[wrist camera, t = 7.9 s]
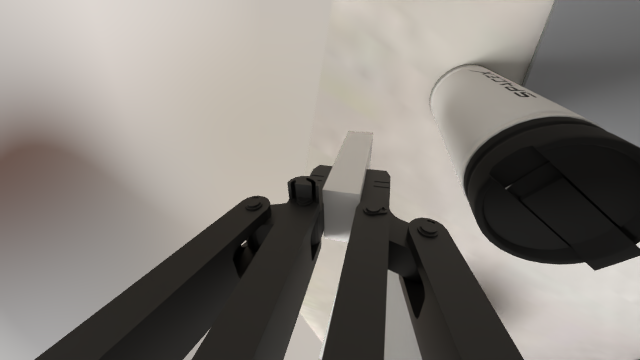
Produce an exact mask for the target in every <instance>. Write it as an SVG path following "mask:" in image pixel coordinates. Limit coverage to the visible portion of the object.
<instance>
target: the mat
mask: <svg viewBox="0 0 640 360" xmlns="http://www.w3.org/2000/svg"><path fill="white" fill-rule="evenodd" d="M522 87H524V88H526V89H528V90H530V91H532V92H534V93H536V94H538V95H540V96H542V97H544V98H546V99H548V100H550V101H552V102H554V103H556V104H558V105H560V106H562V107H564V108H566V109H568V110H570V111H572V112H574V113H576V114H578V115H580V116H582V117H584V118H586V119H588V120H590V121H592V122H594V123H596V124H598V125H599V126H600V127H602V128H603V129H604V130H606V131H607V132H610V133H612V134H614V135H616V136H618V137H620V138H622V139H624V140H626V141H628V142H630V143H632V144H634V145H636V146H638V147H640V0H555V1H554V4H553V7H552V9H551V12H550V14H549V17H548V19H547V22H546V25H545V27H544V30H543V32H542V35H541V38H540V40H539V43H538V45H537V48H536V50H535V53H534V56H533V58H532V61H531V63H530V66H529V69H528V71H527V74H526V76H525V79H524V81H523V84H522Z"/></svg>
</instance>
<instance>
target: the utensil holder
mask: <svg viewBox="0 0 640 360" xmlns="http://www.w3.org/2000/svg"><path fill="white" fill-rule="evenodd" d="M338 286H339V285H338ZM337 290H338V288H337ZM336 294H337V292H336ZM335 299H336V295H335ZM335 299H334V303H335ZM334 303H333V306H332V310H331V314H330V318H329V322H328V326H327V329H326V333H325V337H324V340H323V344H322V349H321V352H320V356H319V360H322V356H323V352H324V347H325V343H326V339H327V334H328V330H329V325H330V321H331V317H332V312H333V308H334ZM384 360H422V357H421V354H420V350H419V347H418V343H417V340H416V336H415V333H414V329H413V326H412V323H411V319H410V316H409V312H408V309H407V305H406V302H405V298H404V295H403V291H402V288H401V284H400V281H399V276H398V274H396V273H394V272H392V271H390V270H388V275H387V300H386V324H385V349H384Z"/></svg>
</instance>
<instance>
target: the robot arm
mask: <svg viewBox="0 0 640 360" xmlns="http://www.w3.org/2000/svg"><path fill="white" fill-rule="evenodd" d="M372 140H373V133H369V132H354V131H348V134H347V136H346V138H345V140H344V143H343V145H342V147H341V149H340V152H339V154H338V156H337V158H336V160H335V163H334V165H333V166H324V165H319V166H318V167H316V168H315V169H313V171H312V173H311V175H310V176H300V177H295V178H293V179H291V180H290V181H289V182H288V191H289V201H288V202H287V203H284V204H275V205H270V202H269V200H268V199H267V198H265V197H262V196H252V197H249V198H247V199H245V200H243V201H242V202H240V203H239V204H238V205H236V206H235V207H234V208H233V209H231V210H230V211H228V212H227V213H226V214H225V215H223V216H222V217H221V218H219V219H218V220H217V221H215V222H214V223H213V224H211V225H210V226H209V227H207V228H206V229H205V230H204V231H202V232H201V233H200V234H198V235H197V236H196V237H194V238H193V239H192V240H191V241H189V242H188V243H187V244H185V245H184V246H183V247H181V248H180V249H179V250H177V251H176V252H175V253H173V254H172V255H171V256H169V257H168V258H167V259H166V260H164V261H163V262H162V263H160V264H159V265H158V266H157V267H155V268H154V269H152V270H151V271H150V272H149V273H148V274H146V275H145V276H143V277H142V278H141V279H140V280H138V281H137V282H135V283H134V284H133V285H132V286H130V287H129V288H128V289H127V290H125V291H124V292H123V293H121V294H120V295H119V296H117V297H116V298H115V299H113V300H112V301H111V302H110V303H108V304H107V305H105V306H104V307H103V308H101V309H100V310H99V311H98V312H96V313H95V314H94V315H92V316H91V317H90V318H89V319H87V320H86V321H84V322H83V323H82V324H80V325H79V326H78V327H77V328H75V329H74V330H73V331H71V332H70V333H69V334H67V335H66V336H65V337H63V338H62V339H61V340H60V341H58V342H57V343H56V344H54V345H53V346H52V347H51V348H49V349H48V350H46V351H45V352H44V353H43V354H41V355H40V356H39V357H37V358H36V359H35V360H183V359H184V358H185V357H186V355H187V354H188V353H189V352H190V351H191V350H192V349H193V347H194V346H195V345H196V344H197V343H198V342H199V341H200V339H201V338H202V337H203V336H204V335H205V334H206V333H207V331H208V330H209V329H210V328H211V329H210V330H209V332H208V334H207V335H206V337H205V339H204V340H203V342H202V343H201V345H200V347H199V348H198V350H197V352H196V353H195V355H194V357H193V358H192V360H283V359H284V356H285V353H286V350H287V347H288V344H289V341H290V338H291V335H292V332H293V329H294V326H295V323H296V320H297V317H298V314H299V311H300V308H301V305H302V302H303V299H304V297H305V294H306V291H307V288H308V285H309V282H310V279H311V276H312V273H313V270H314V267H315V264H316V261H317V258H318V255H319V252H320V249H321V237H322V234H323V231H324V239H330V240H336V241H342V242H348V246H347V250H346V255H345V259H344V264H343V268H342V272H341V277H340V281H339V286H338V290H337V294H336V299H335V303H334V308H333V312H332V317H331V321H330V325H329V330H328V334H327V339H326V343H325V347H324V352H323V356H322V360H384V349H385V324H386V300H387V275H388V270H390V271H392V272H394V273H396V274H398V276H399V281H400V284H401V288H402V291H403V295H404V298H405V302H406V305H407V309H408V312H409V316H410V319H411V323H412V326H413V329H414V333H415V336H416V340H417V343H418V347H419V350H420V354H421V357H422V360H524V359H523V357H522V356H521V354H520V352H519V350H518V349H517V347H516V345H515V344H514V342H513V340H512V339H511V337H510V335H509V334H508V332H507V330H506V329H505V327H504V325H503V323H502V322H501V320H500V318H499V317H498V315H497V313H496V312H495V310H494V308H493V307H492V305H491V303H490V302H489V300H488V298H487V297H486V295H485V293H484V291H483V290H482V288H481V286H480V285H479V283H478V281H477V280H476V278H475V276H474V275H473V273H472V271H471V270H470V268H469V266H468V264H467V263H466V261H465V259H464V258H463V256H462V254H461V253H460V251H459V249H458V248H457V246H456V244H455V243H454V241H453V239H452V237H451V236H450V234H449V232H448V231H447V229H446V228H445V227H444V226H443V225H442V224H440V223H439V222H437V221H435V220H432V219H429V218H417V219H414V220H412V221H411V222H410V223H408V222H405V221H403V220H401V219H398V218H397V217H395V216H394V215H393V214H392V213H391V211H390V209H389V198H390V175H389V174H388V173H387V171H381V170H371V169H370V163H371V151H372ZM245 240H246V243H244V244H243V245H241V244H242V243H243V242H244V241H245Z"/></svg>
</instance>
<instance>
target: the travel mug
mask: <svg viewBox="0 0 640 360" xmlns="http://www.w3.org/2000/svg"><path fill="white" fill-rule="evenodd" d="M430 108H431V111H432V114H433V116H434V119H435V122H436V124H437V127H438V129H439V132H440V134H441V137H442V139H443V142H444V144H445V147H446V149H447V152H448V154H449V157H450V159H451V162H452V165H453V167H454V170H455V172H456V175H457V177H458V180H459V182H460V185H461V187H462V189H463V192H464V195H465V196H466V198H467V200H468V202H469V204H470V207H471V209H472V212H473V214H474V217H475V219H476V222H477V224H478V226H479V228H480V229H481V231H482V233H483V234H484V235H485V236H486V237H487V239H488V240H489V241H490V242H492V243H493V244H494V245H496V246H497V247H498V248H500V249H501V250H503V251H505V252H507V253H509V254H511V255H513V256H516V257H519V258H522V259H525V260H529V261H534V262H539V263H547V264H576V263H583V262H586V263H587V264H588V265H589V266H590V267H591V268H593V269H594V270H598V269H601V268H604V267H608V266H611V265H614V264H617V263H620V262H623V261H626V260H629V259H632V258H635V257H637V256H640V248H639V247H637V246H636V244H637V243H639V242H640V147H638V146H636V145H634V144H632V143H630V142H628V141H626V140H624V139H622V138H620V137H618V136H616V135H614V134H612V133H610V132H607V131H606V130H604V129H603V128H602V127H600V126H599V125H598V124H596V123H594V122H592V121H590V120H588V119H586V118H584V117H582V116H580V115H578V114H576V113H574V112H572V111H570V110H568V109H566V108H564V107H562V106H560V105H558V104H556V103H554V102H552V101H550V100H548V99H546V98H544V97H542V96H540V95H538V94H536V93H534V92H532V91H530V90H528V89H526V88H524V87H522V86H520V85H518V84H516V83H514V82H512V81H510V80H508V79H506V78H504V77H502V76H500V75H498V74H496V73H494V72H492V71H490V70H488V69H486V68H484V67H482V66H479V65H473V64H472V65H462V66H458V67H456V68H453V69H451V70H450V71H448V72H446V73H445V74H444V75H443V76H442V77H440V79H439V80H438V81H437V82H436V84H435V85H434V87H433V89H432V91H431V94H430Z"/></svg>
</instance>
